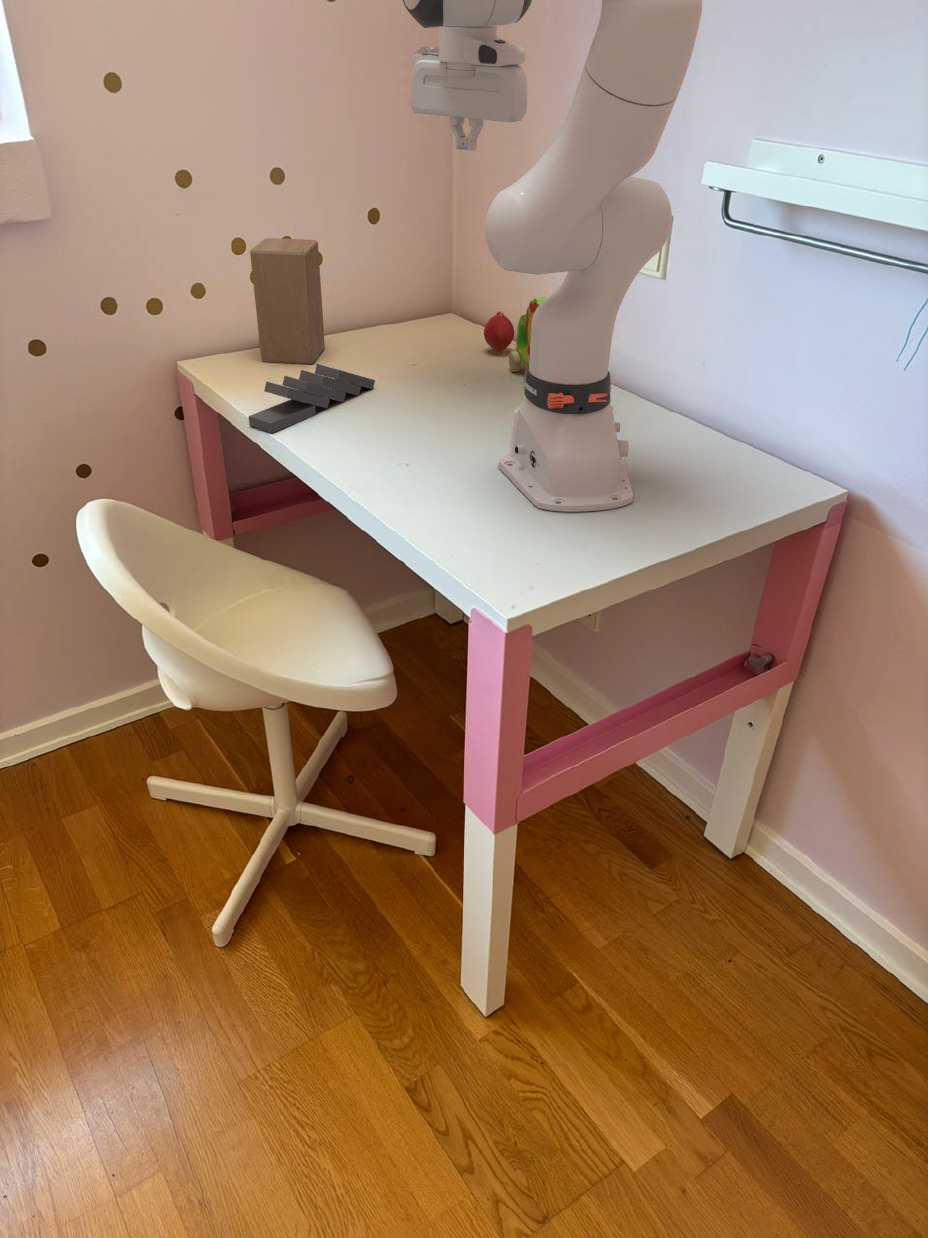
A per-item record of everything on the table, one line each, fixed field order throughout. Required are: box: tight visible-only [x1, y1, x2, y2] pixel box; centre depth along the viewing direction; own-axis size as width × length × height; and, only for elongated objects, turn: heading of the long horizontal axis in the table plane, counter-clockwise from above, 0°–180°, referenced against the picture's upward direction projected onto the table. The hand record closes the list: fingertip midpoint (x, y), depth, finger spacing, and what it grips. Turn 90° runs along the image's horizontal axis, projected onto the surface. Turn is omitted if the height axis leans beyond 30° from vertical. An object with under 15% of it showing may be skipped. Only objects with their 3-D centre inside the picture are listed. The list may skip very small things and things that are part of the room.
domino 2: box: [248, 399, 316, 434], centre depth 153 cm, size 2×5×10 cm
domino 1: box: [263, 381, 331, 409], centre depth 154 cm, size 2×5×10 cm
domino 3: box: [282, 375, 347, 403], centre depth 157 cm, size 2×5×10 cm
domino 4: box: [298, 369, 362, 396], centre depth 160 cm, size 2×5×10 cm
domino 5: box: [314, 363, 376, 390], centre depth 163 cm, size 2×5×10 cm
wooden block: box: [249, 237, 326, 365], centre depth 175 cm, size 10×10×20 cm
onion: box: [483, 310, 515, 353], centre depth 181 cm, size 6×6×8 cm
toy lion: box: [508, 297, 548, 380], centre depth 166 cm, size 16×5×15 cm, turn 14°
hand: (466, 149), depth 152 cm, fingers closed
